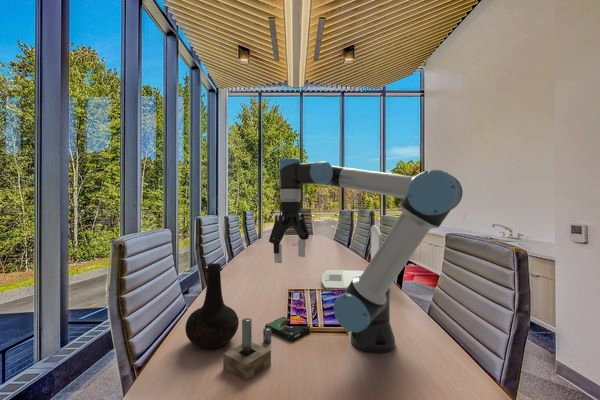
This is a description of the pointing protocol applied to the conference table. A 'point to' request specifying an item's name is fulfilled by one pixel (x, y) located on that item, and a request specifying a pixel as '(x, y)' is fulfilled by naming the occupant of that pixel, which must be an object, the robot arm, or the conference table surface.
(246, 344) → the long pin
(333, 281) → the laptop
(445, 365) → the conference table surface
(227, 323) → the glass bottle
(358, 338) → the robot arm
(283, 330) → the disk drive
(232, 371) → the socket block
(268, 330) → the short pin
